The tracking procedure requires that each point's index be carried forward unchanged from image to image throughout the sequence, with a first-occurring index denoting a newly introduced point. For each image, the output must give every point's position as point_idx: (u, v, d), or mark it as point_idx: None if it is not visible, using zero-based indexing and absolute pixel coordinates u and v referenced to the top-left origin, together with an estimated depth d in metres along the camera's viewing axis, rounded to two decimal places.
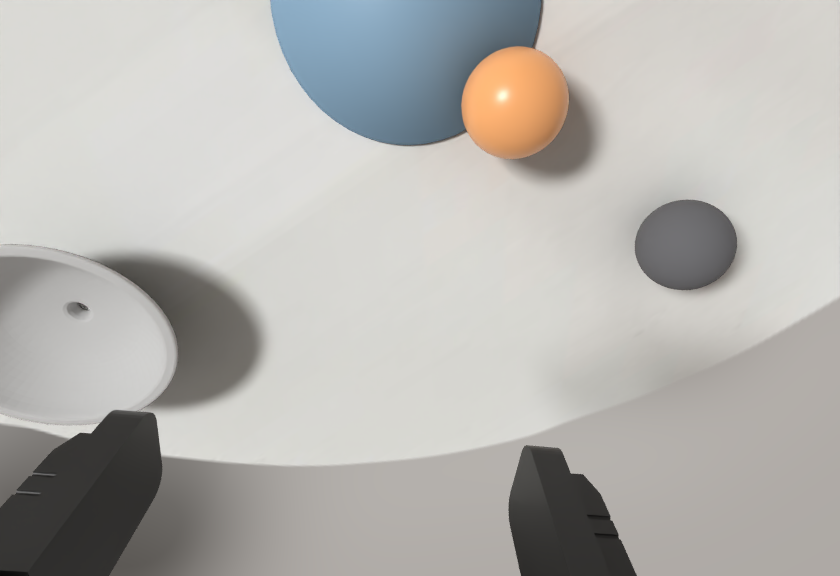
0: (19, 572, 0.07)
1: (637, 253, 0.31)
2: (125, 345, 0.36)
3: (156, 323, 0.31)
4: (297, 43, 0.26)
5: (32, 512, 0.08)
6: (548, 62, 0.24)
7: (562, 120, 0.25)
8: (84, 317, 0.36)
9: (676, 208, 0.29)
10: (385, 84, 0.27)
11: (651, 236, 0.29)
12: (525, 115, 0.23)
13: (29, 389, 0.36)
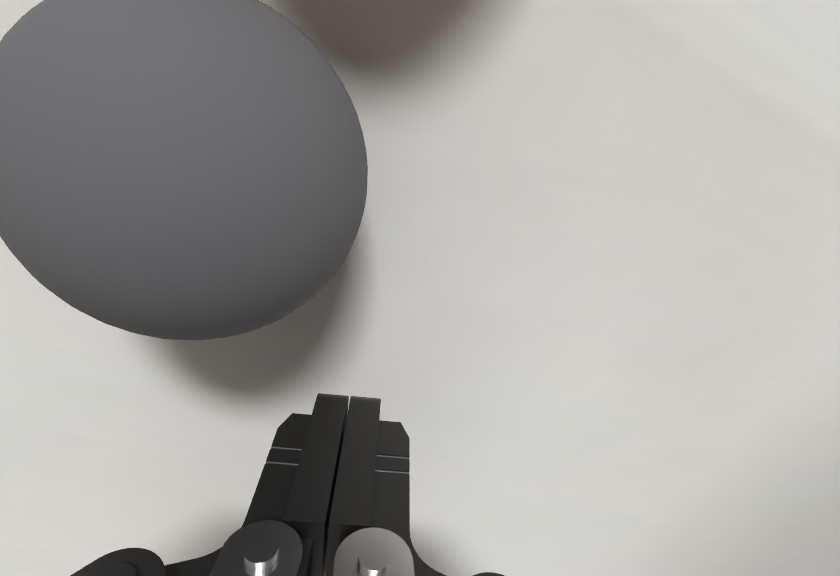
0: (316, 523, 0.08)
1: None
2: None
3: None
4: None
5: (300, 476, 0.09)
6: None
7: None
8: None
9: None
10: None
11: None
12: None
13: None
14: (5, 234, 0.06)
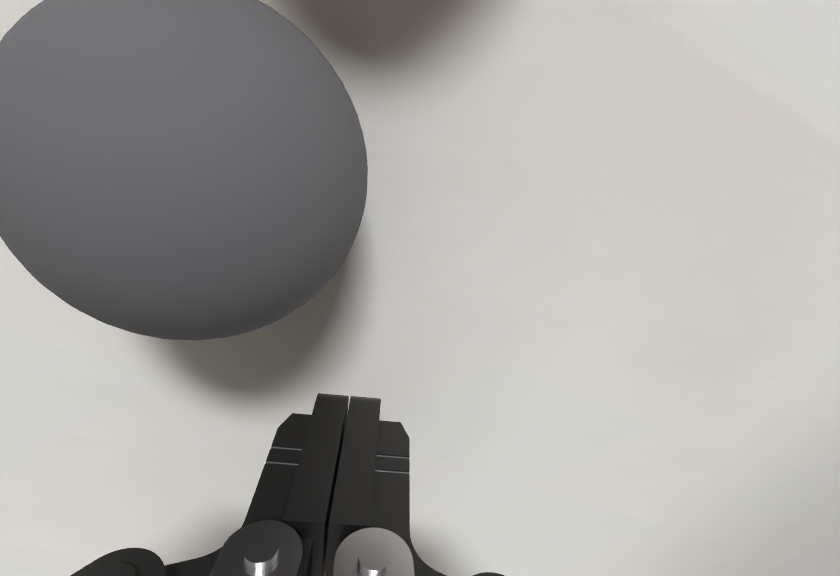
0: (316, 523, 0.08)
1: None
2: None
3: None
4: None
5: (300, 476, 0.09)
6: None
7: None
8: None
9: None
10: None
11: None
12: None
13: None
14: (5, 234, 0.06)
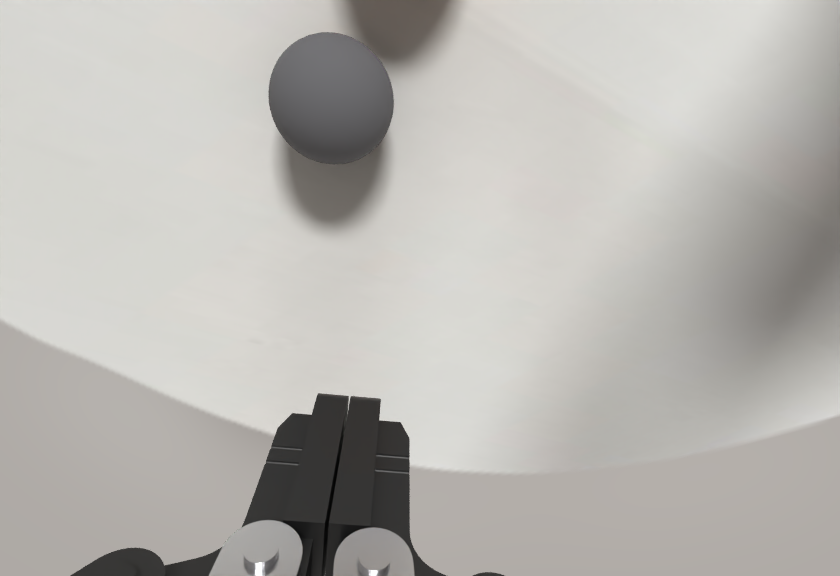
0: (316, 523, 0.08)
1: None
2: None
3: None
4: None
5: (301, 476, 0.09)
6: None
7: None
8: None
9: (370, 151, 0.22)
10: None
11: None
12: None
13: None
14: (286, 113, 0.20)
